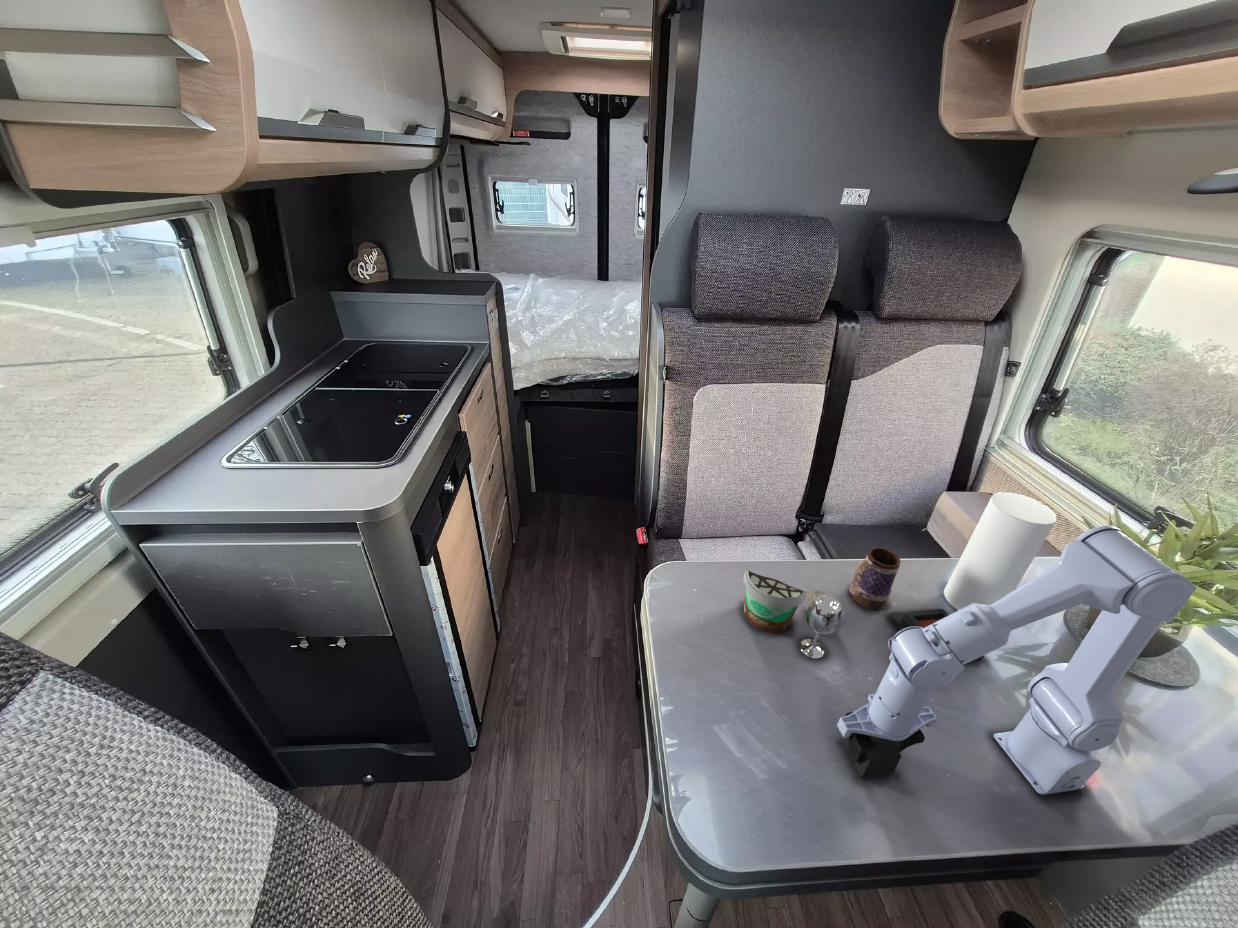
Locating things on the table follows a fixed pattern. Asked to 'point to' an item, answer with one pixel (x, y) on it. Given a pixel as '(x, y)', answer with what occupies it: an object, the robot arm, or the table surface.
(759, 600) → the food container
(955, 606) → the tall pillar cylinder
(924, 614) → the base pad
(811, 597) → the toy character
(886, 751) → the black block
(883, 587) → the mug
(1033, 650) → the table surface
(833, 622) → the wineglass
